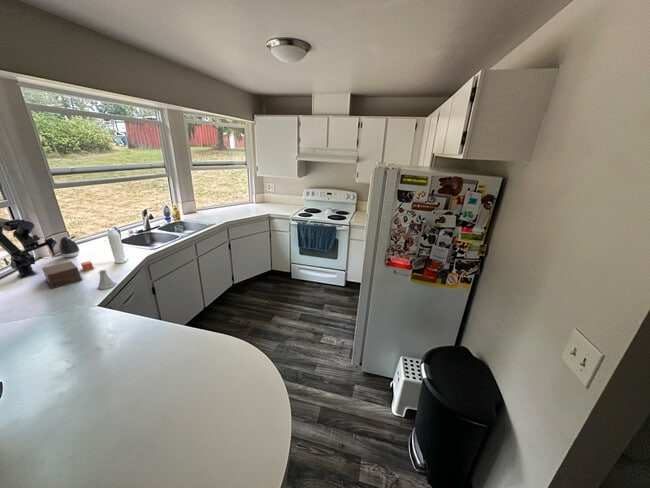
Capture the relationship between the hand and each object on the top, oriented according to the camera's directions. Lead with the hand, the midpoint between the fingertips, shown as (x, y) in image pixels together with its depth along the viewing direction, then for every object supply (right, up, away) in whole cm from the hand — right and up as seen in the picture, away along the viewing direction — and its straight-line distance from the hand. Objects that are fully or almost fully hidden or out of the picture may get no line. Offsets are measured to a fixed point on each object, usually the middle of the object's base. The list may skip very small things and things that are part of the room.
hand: (44, 259), depth 146 cm
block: (+6, -8, +20) cm, 22 cm away
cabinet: (+6, -13, +5) cm, 15 cm away
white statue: (+19, -4, +32) cm, 37 cm away
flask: (+36, -16, 0) cm, 40 cm away
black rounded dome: (-24, 0, +39) cm, 46 cm away
